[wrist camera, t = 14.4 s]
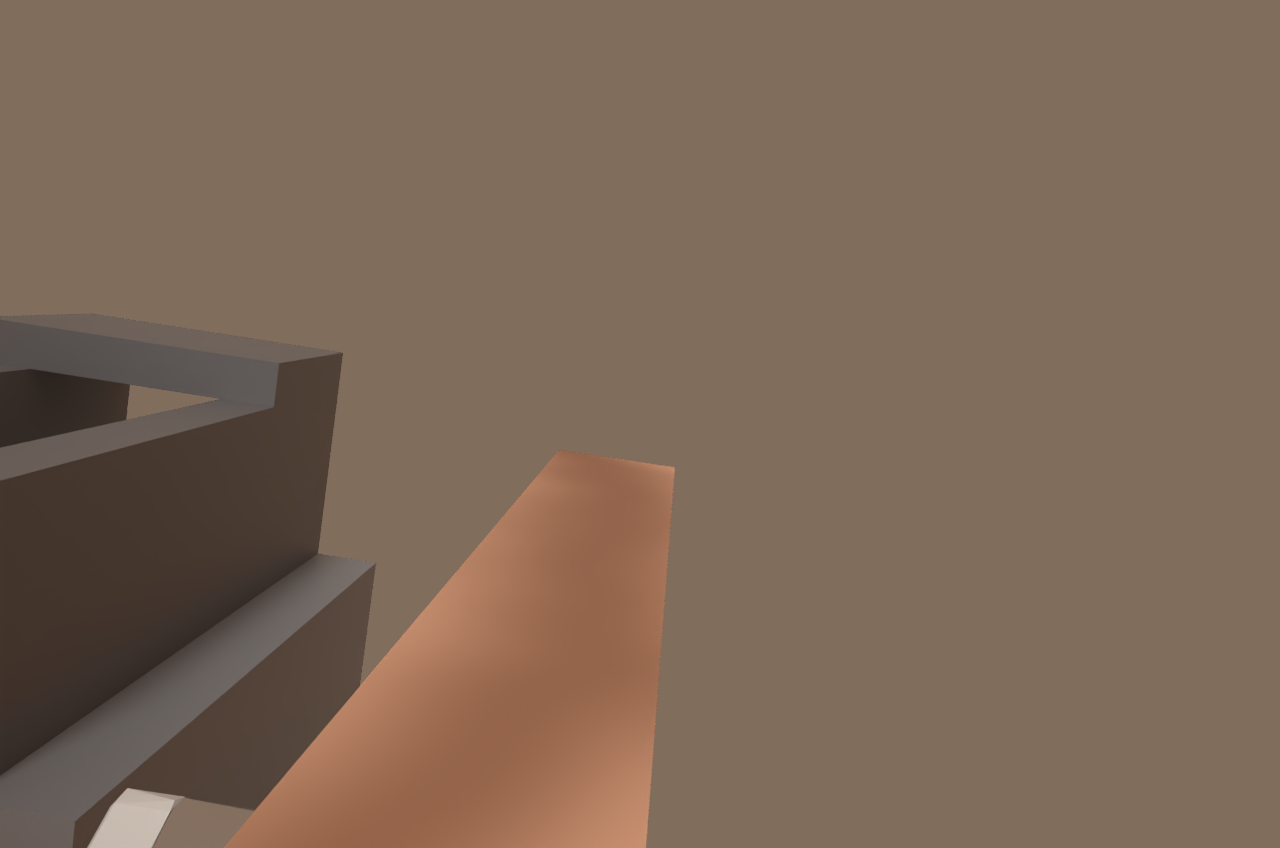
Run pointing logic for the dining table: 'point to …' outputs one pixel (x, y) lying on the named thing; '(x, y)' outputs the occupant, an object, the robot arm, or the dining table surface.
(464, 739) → the bar
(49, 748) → the stepped stand
